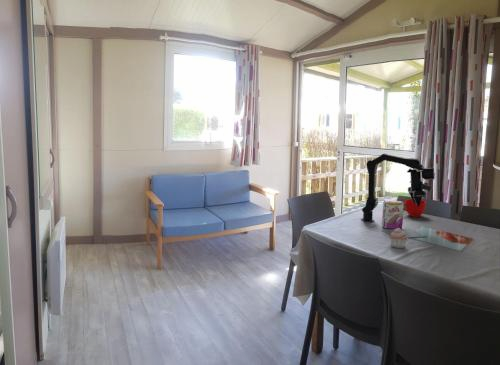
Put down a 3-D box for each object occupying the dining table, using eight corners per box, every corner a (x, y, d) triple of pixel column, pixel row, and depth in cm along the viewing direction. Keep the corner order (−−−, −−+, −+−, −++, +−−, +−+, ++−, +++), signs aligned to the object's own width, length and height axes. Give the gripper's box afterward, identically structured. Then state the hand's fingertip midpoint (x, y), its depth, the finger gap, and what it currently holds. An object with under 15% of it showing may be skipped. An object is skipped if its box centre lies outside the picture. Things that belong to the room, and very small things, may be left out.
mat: (381, 230, 230) (381, 229, 230) (409, 229, 233) (409, 228, 233) (397, 238, 214) (397, 237, 214) (426, 236, 218) (426, 236, 218)
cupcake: (411, 248, 198) (412, 229, 197) (395, 250, 196) (397, 231, 194) (399, 243, 207) (400, 224, 206) (384, 244, 205) (385, 226, 203)
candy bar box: (383, 228, 234) (385, 202, 231) (381, 226, 239) (383, 200, 236) (402, 229, 233) (404, 202, 230) (400, 227, 237) (402, 200, 235)
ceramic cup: (395, 213, 271) (396, 199, 269) (418, 213, 273) (419, 199, 271) (404, 218, 258) (405, 203, 257) (428, 217, 260) (429, 203, 259)
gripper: (434, 180, 224) (435, 207, 225) (426, 177, 242) (426, 201, 243) (413, 181, 226) (414, 208, 227) (407, 178, 244) (408, 202, 246)
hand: (416, 205), depth 236 cm, fingers open, 9 cm apart
